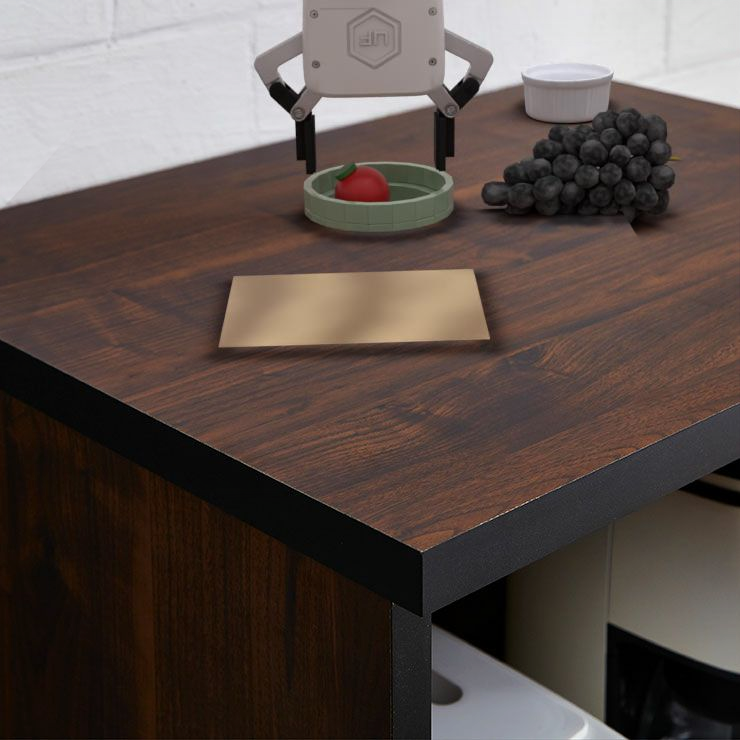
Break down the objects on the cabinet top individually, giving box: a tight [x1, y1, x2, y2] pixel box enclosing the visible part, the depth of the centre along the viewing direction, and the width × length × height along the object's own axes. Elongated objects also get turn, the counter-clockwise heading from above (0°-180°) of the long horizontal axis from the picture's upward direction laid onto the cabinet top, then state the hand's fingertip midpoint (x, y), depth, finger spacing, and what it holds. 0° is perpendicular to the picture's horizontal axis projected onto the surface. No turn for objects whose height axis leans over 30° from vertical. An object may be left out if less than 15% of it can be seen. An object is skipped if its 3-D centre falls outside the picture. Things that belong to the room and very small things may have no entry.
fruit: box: [480, 107, 683, 224], centre depth 104 cm, size 9×8×15 cm
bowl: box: [303, 161, 455, 233], centre depth 105 cm, size 11×11×4 cm
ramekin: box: [520, 61, 615, 124], centre depth 135 cm, size 9×9×4 cm
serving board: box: [218, 268, 491, 349], centre depth 87 cm, size 16×12×2 cm
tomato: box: [334, 161, 390, 203], centre depth 104 cm, size 4×4×4 cm
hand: (375, 168), depth 104 cm, fingers open, 9 cm apart
